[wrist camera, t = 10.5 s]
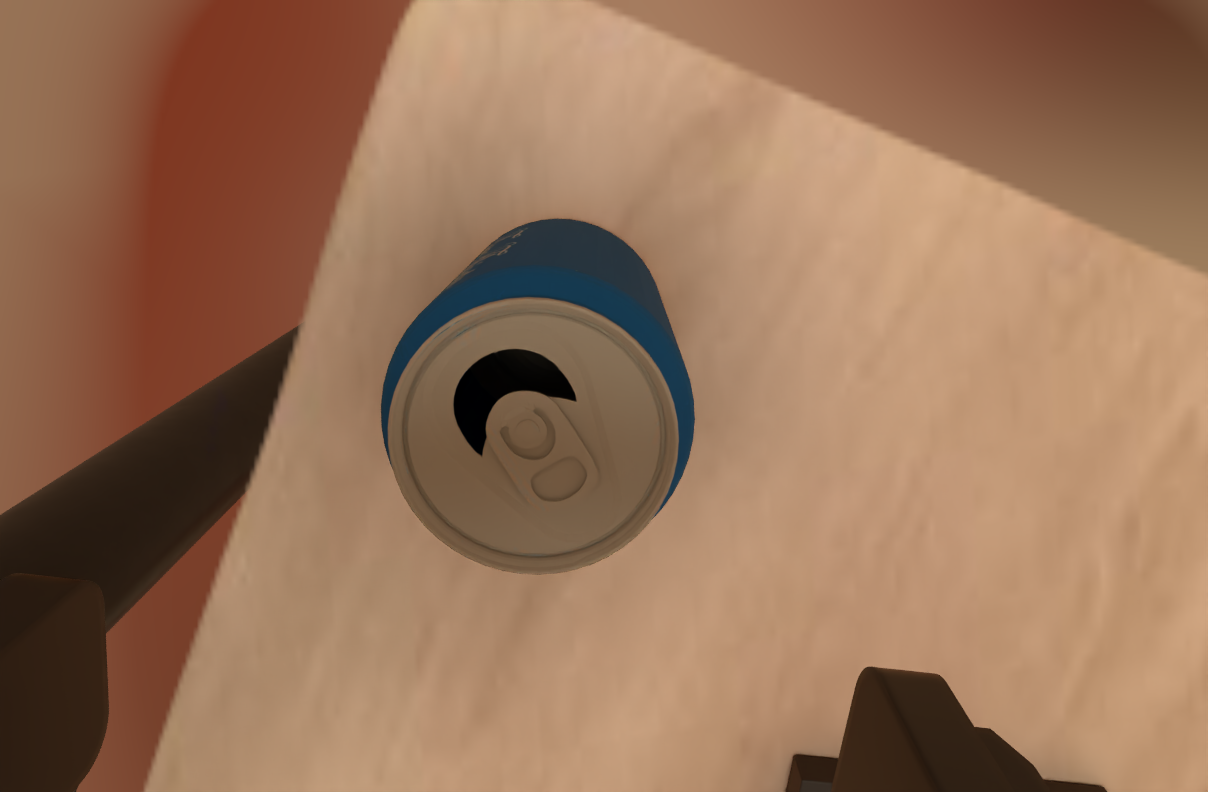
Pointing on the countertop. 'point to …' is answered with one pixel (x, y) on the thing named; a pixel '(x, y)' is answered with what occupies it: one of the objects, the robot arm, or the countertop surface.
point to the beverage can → (540, 402)
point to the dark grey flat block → (817, 774)
